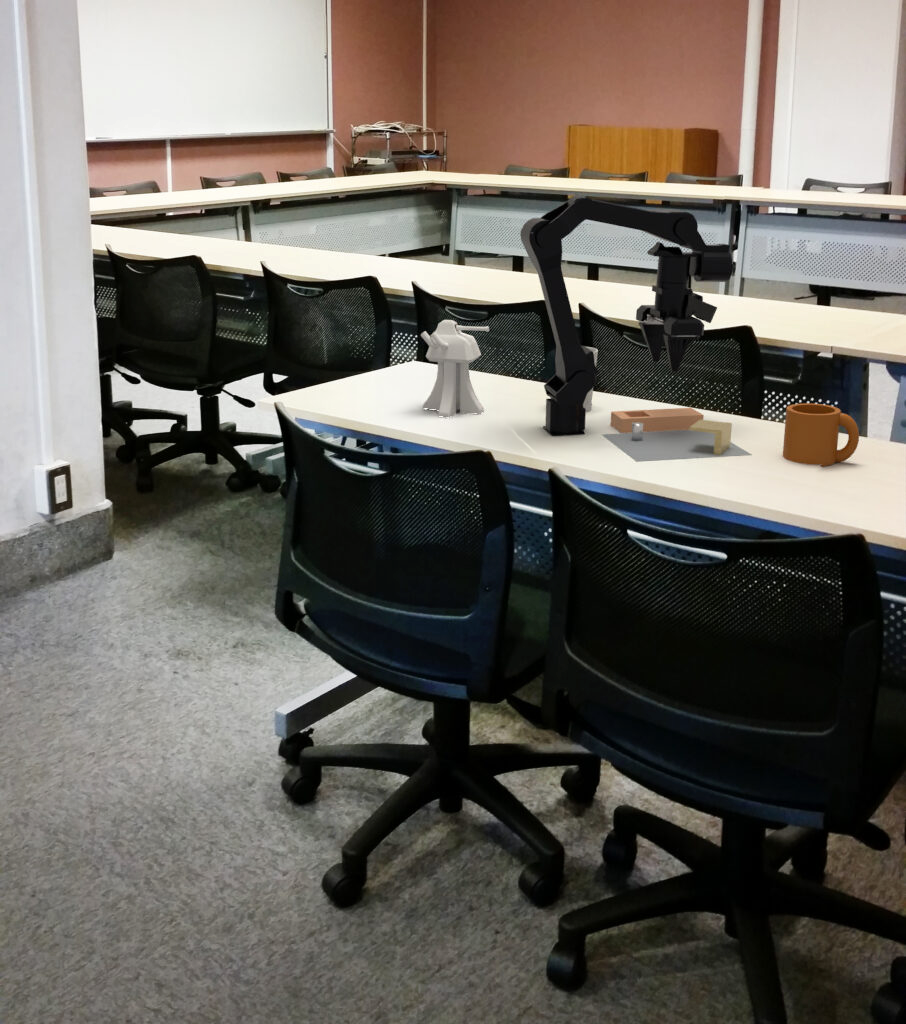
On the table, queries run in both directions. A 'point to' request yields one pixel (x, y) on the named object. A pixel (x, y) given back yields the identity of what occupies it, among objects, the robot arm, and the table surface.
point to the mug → (817, 434)
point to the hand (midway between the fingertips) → (664, 366)
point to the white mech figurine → (453, 369)
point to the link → (655, 419)
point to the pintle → (637, 431)
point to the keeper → (716, 433)
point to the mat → (671, 445)
